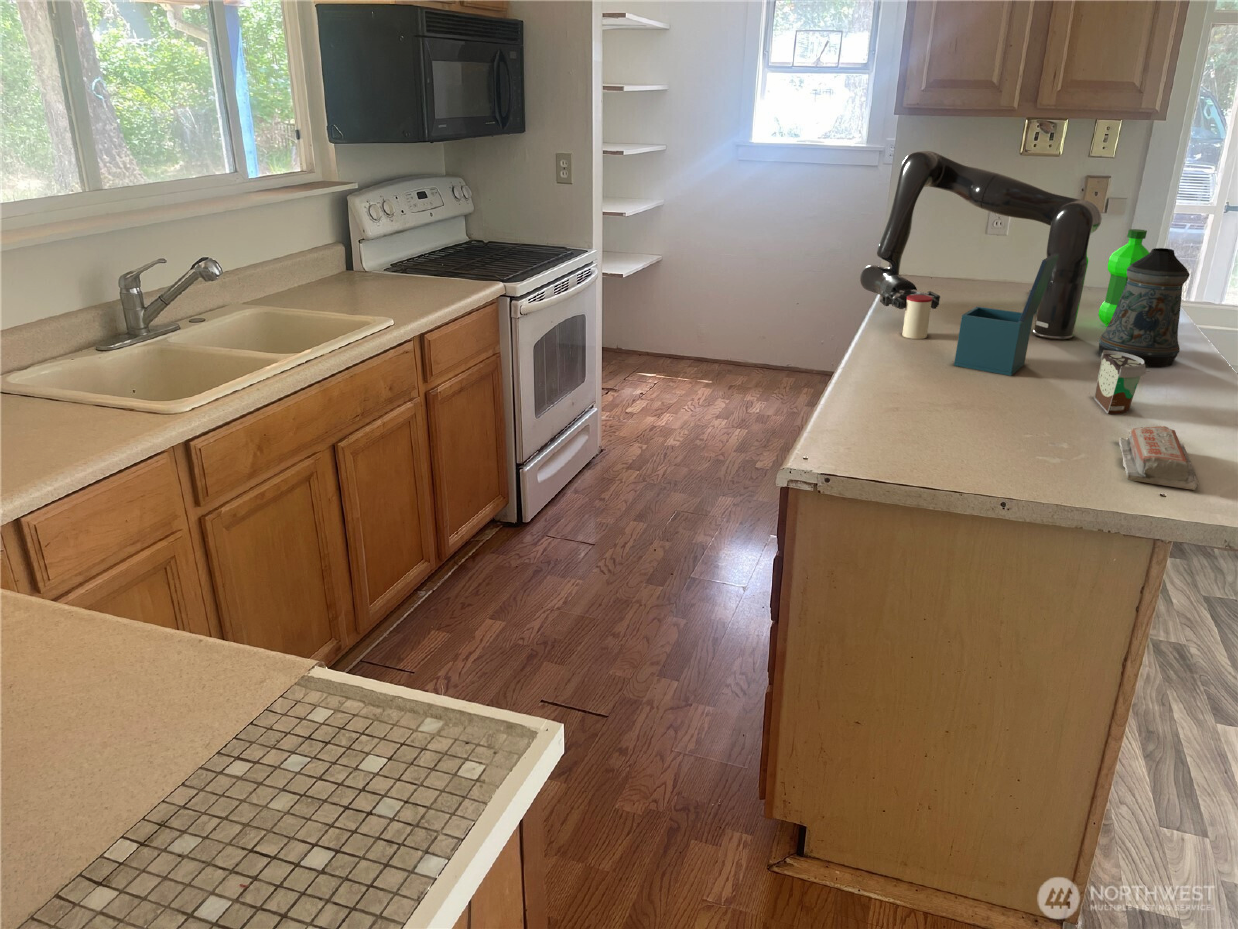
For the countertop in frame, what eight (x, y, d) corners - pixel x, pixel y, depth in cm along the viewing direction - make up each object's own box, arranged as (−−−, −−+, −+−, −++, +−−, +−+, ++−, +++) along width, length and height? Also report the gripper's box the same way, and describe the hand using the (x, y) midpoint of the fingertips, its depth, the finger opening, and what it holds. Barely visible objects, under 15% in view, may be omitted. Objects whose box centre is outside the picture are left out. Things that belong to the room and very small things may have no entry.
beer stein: (1103, 364, 200) (1129, 254, 190) (1088, 342, 217) (1110, 240, 207) (1185, 370, 196) (1215, 258, 186) (1162, 347, 213) (1189, 244, 203)
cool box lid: (1042, 259, 181) (1046, 261, 181) (1055, 252, 189) (1059, 253, 188) (1019, 320, 188) (1023, 322, 187) (1032, 311, 196) (1036, 312, 195)
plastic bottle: (1129, 333, 225) (1152, 234, 215) (1087, 325, 232) (1108, 230, 222) (1144, 326, 231) (1167, 230, 221) (1102, 319, 238) (1123, 226, 228)
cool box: (953, 365, 200) (961, 315, 195) (968, 355, 207) (976, 306, 203) (1010, 375, 193) (1020, 323, 188) (1024, 364, 200) (1033, 314, 195)
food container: (1144, 418, 168) (1157, 369, 164) (1110, 416, 169) (1122, 367, 165) (1124, 398, 179) (1135, 350, 175) (1091, 396, 180) (1102, 349, 176)
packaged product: (1205, 464, 136) (1133, 454, 139) (1197, 492, 138) (1126, 482, 141) (1188, 425, 151) (1123, 418, 154) (1181, 451, 153) (1117, 443, 156)
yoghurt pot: (907, 331, 227) (912, 293, 223) (930, 335, 224) (936, 296, 220) (898, 336, 223) (903, 297, 219) (921, 340, 219) (927, 301, 215)
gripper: (873, 277, 233) (893, 290, 218) (926, 277, 234) (949, 290, 219) (870, 305, 236) (889, 320, 221) (922, 304, 237) (944, 319, 222)
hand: (919, 305), depth 220 cm, fingers open, 8 cm apart
